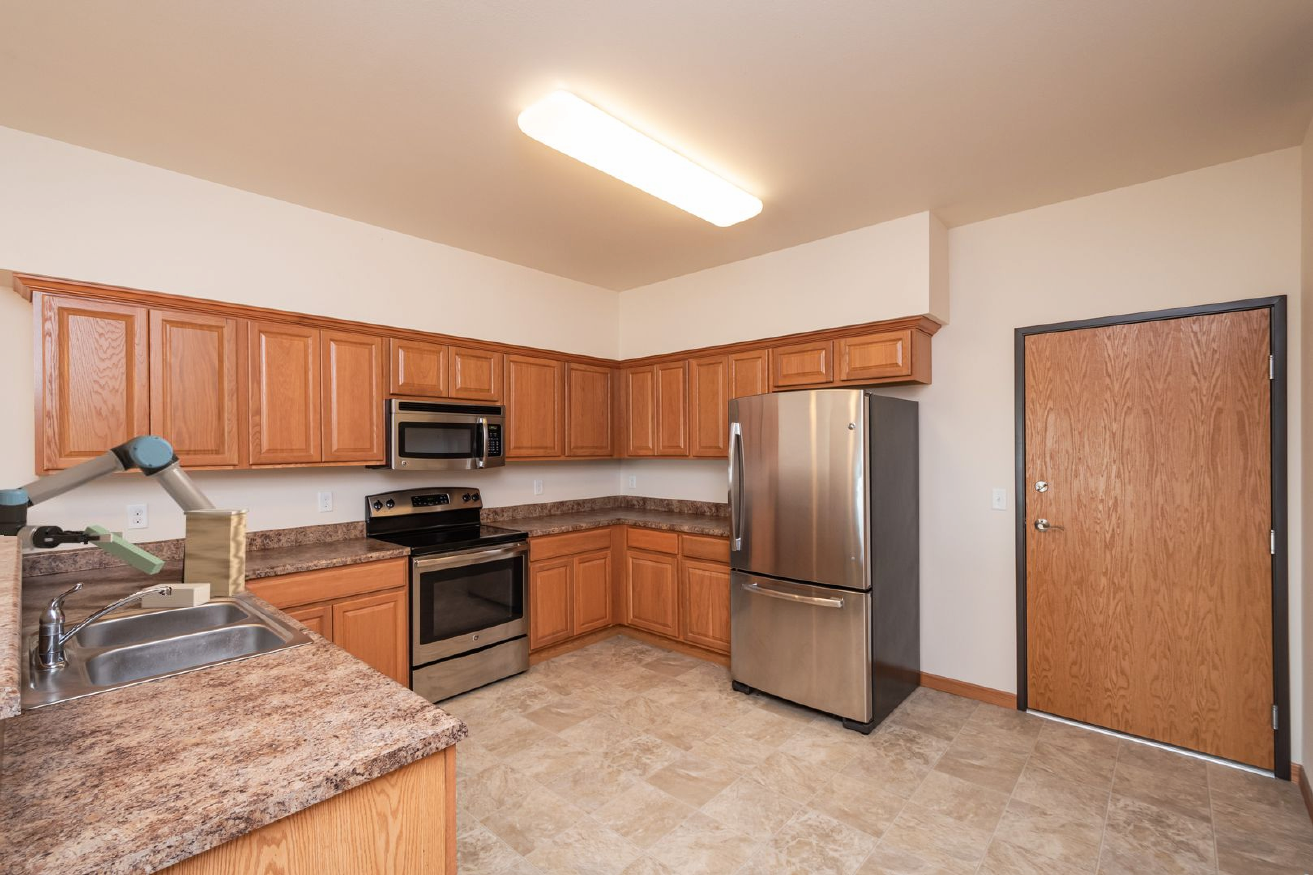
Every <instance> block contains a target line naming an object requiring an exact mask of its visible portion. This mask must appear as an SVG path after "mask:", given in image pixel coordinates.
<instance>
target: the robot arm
mask: <svg viewBox="0 0 1313 875" xmlns="http://www.w3.org/2000/svg"><path fill="white" fill-rule="evenodd" d="M180 461H181V459H180V458H179V456H178V455H177V454H176V453H175V452H174V449H173V446H172V445H171V444H170V442H169V441H167V440H166V439H165V438H162V437H160V436H157V435H142V436H136V437H133V438H131V439H129V440H127V441H125V442H123V443H121V444H118V445H117V446H115V447H112V448H109V449H108V450H107V451H106V453H104V454H101V455H100V456H97V457H94V458H92V459H88V460H86V461H83V462H81V463H78V464H76V465H73V466H71V467H69V468H65V469H63V470H61V471H58V472H56V473H53V474H50V475H47V476H45V477H43V478H39V479H38V480H34V481H32V482H29V483H27V484H24V485H22V486H20V487H18V488H12V489H11V488H10V489H9V488H8V489H0V535H4V536H17V537H18V538H19V539H21V540H22V549H29V551H34V550H35V549H39V550H40V549H43V550H45V549H47V550H48V549H49V550H50V549H51V550H52V549H55V548H58V547H59V546H60V545H61V544H81V543H83V545H88V544H89V543H90V542H113V534H115V535H117V536H119V537H120V538H122V539H124V540H125V531H110V532H111V533H113V534H90V536H88V534H83V533H84V531H85V530H70V529H68V530H63V529H62V528H61V527H60V526H58V525H42V524H41V525H39V524H38V525H30V524H29V525H28V524H27V523H28V509H29V508H32V507H34V506H36V505H39V504H41V503H44V502H46V501H49V500H51V499H53V498H57V497H58V496H62V495H63V494H66V493H68V492H71V491H74V490H76V489H78V488H81V487H82V486H85V485H88V484H90V483H92V482H96V481H97V480H100V479H103V478H105V477H107V476H110V475H113V474H116V473H118V472H121V473H124V472H127V471H129V470H132V469H137V468H138V469H139V470H140V472H142V474H143V475H144V476H145V477H146V478H152V479H155V480H156V482H157V483H158V484H159V485H160V486H161V487H162V488H163V490H164V491H165V492H166V493H167V494H168V495H169V496H170V497H171V498H172V499H173V500H174V501H175V503H176V504H177V505H178V507H180V508H181V509H182V511H183V513H184V512H187V511H194V510H201V509H217V508H216V507H215V506H214V504H213V503H212V502H211V501H210V500H209V498H208V497H207V496H206V495H205V494H204V493H203V492H202V491H201V489H200V488H199V486H197V485H196V484H195V482H194V481H193V480H192V479H191V477H190V476H188V474H187V473H186V472H185V471H184V469H183V468H182V467H181V466H180V465H179V463H180Z"/></svg>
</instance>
